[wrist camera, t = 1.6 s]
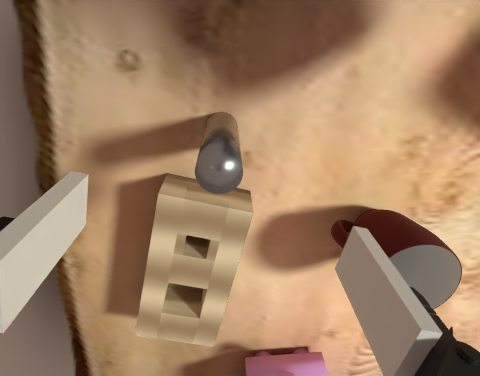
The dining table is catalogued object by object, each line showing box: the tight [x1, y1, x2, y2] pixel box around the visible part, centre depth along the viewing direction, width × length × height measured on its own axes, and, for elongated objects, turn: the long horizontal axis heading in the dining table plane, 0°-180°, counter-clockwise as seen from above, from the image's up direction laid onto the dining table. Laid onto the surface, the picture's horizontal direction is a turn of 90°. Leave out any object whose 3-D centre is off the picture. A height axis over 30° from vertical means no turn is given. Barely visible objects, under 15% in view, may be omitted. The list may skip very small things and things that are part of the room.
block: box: [135, 173, 253, 347], centre depth 37 cm, size 18×9×5 cm, turn 166°
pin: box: [195, 112, 243, 194], centre depth 28 cm, size 3×3×12 cm
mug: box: [331, 210, 462, 309], centre depth 34 cm, size 11×8×10 cm
